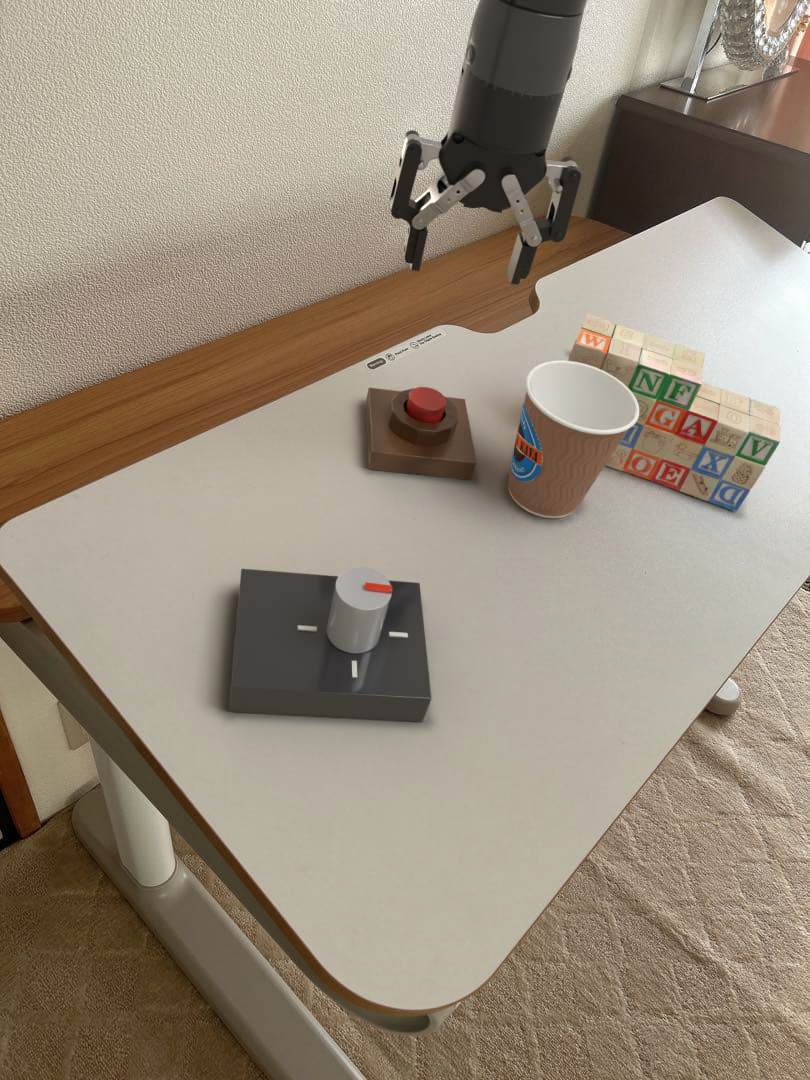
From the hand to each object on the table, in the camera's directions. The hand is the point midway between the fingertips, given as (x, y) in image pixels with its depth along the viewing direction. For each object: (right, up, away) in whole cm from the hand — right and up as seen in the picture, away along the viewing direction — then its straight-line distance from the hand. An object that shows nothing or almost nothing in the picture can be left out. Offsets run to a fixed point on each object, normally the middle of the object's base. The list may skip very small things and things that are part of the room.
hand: (463, 273), depth 74 cm
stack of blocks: (+20, -14, +18) cm, 30 cm away
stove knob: (-9, -29, -9) cm, 32 cm away
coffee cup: (+8, -18, +11) cm, 23 cm away
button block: (-4, -13, +13) cm, 19 cm away
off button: (-3, -10, +11) cm, 15 cm away
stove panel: (-11, -31, -7) cm, 34 cm away
